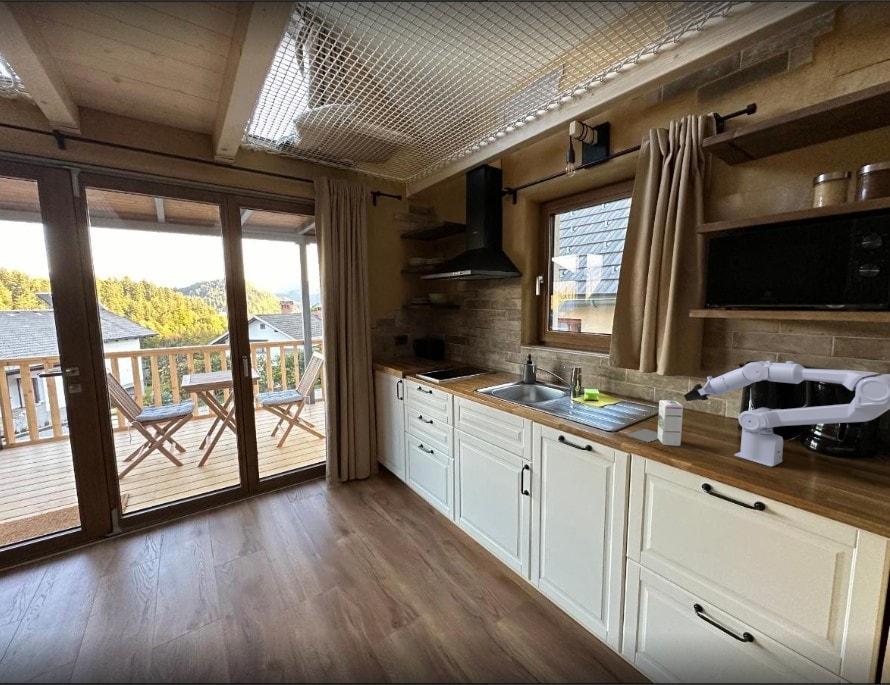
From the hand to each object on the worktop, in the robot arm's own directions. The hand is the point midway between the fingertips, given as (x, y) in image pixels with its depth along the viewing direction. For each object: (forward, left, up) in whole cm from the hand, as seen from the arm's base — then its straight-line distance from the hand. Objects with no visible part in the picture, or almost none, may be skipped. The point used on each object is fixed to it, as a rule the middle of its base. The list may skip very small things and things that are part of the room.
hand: (691, 396), depth 129 cm
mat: (+9, +12, -15) cm, 21 cm away
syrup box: (+1, +12, -15) cm, 19 cm away
